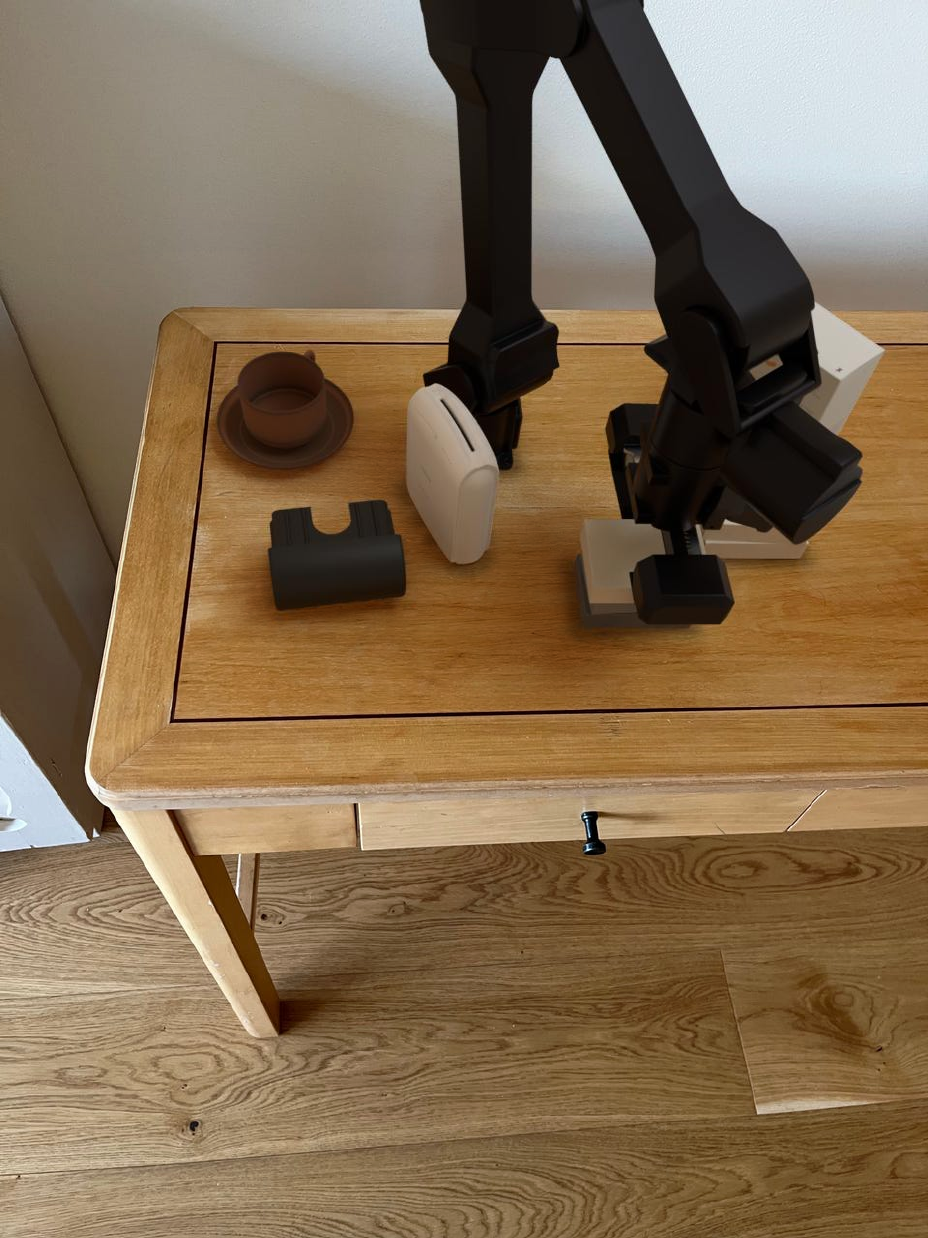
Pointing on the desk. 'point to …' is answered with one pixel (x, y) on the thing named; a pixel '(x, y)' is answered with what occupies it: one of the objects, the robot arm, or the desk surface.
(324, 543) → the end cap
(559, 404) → the desk surface
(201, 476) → the desk surface
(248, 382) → the cup and saucer
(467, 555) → the photo printer
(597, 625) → the grey books
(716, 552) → the white books
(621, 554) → the white book
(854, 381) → the small box
